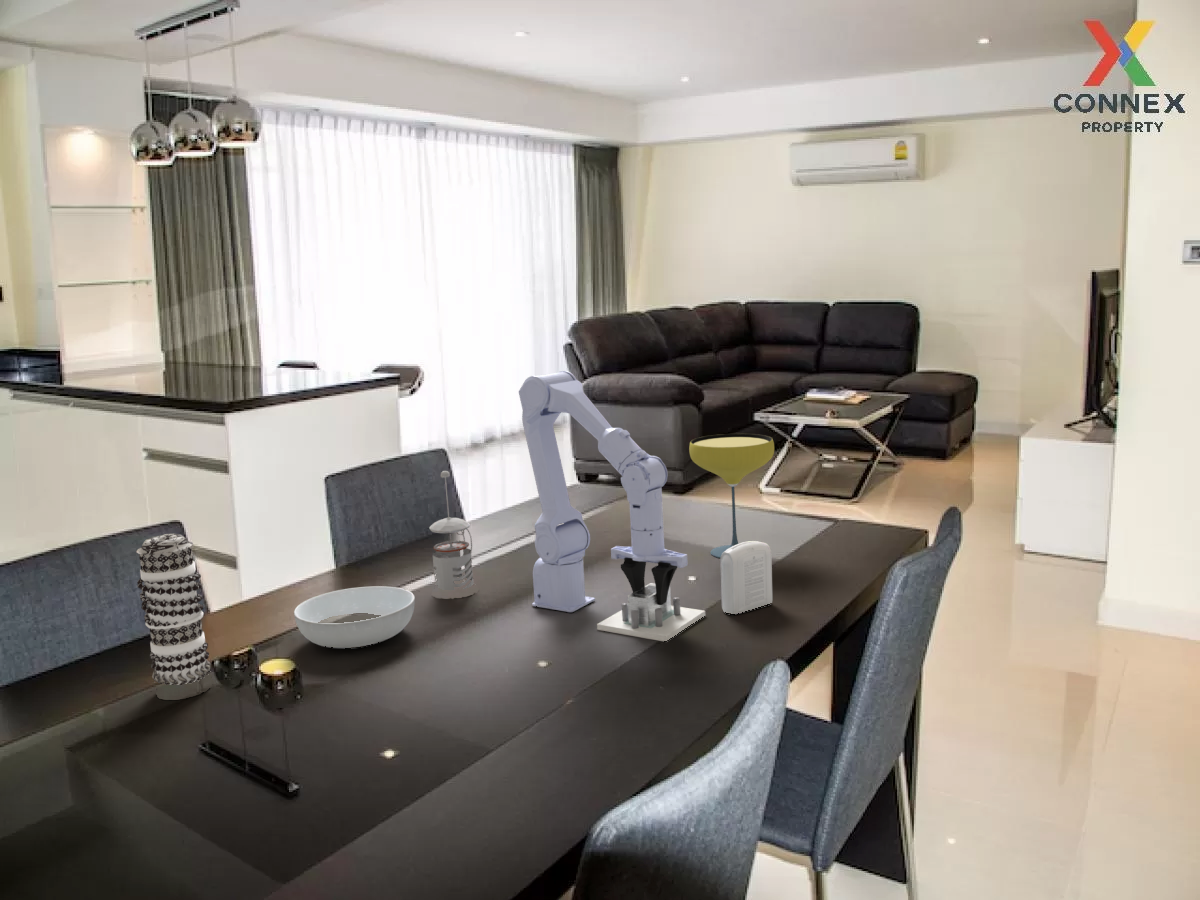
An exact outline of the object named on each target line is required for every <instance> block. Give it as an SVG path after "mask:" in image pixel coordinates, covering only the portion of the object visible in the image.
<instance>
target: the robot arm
mask: <svg viewBox="0 0 1200 900" xmlns="http://www.w3.org/2000/svg"><path fill="white" fill-rule="evenodd" d="M583 386H584V385H583V382H581V381H579V380H578V379H577V378H576V375H574V374H573V373H572V372H570V371H567V370H562V371H559V372H554V373H548V374H541V375H530V376H529V377H527V378H525V380H524V382H523V383H522V385H521V387H520V389H519V390H518V396H519V400H520V404H521V408H522V413H521V419H522V426H523V427H522V428H523V430H524V435H525V436H524V437H525V441H526V445H527V449H528V453H529V457H530V463H531V467H532V471H533V477H534V479H535V484H536V489H537V494H538V498H539V503H540V507H541V514H540V516H539V517H538V518H537V520H536V522H535V524H534V526H533V527H534V530H535V531H534V532H535V539H534V546H535V551H536V553H537V555H538V557H539V558H538V559H536V561H535V563H534V565H533V569H532V584H533V596H534V597H533V602H532V603H531V604H532V605H533V607H536V606H537V607H538V608H543V609H548V610H556V611H560V612H567V613H573V612H576V611H577V610H579V609H581V608H583V607H584V606H587V605H588V604H590V603H593V602H594V601H595V600H596V598H595V597H591V596H586V586H585V585H586V584H585V583H586V582H585V571H584V569H585V568H584V557H585V556H586V550H587V549H589V548H588V547H589V546H590V543H591V534H590V531H589V528H588V527H587V524H586V523H585V521H584V518H583V514H582V512H580V511H579V510H578V509H577V508H575V507H573V506H572V505H571V501H570V497H569V496H570V495H569V491H568V487H567V483H566V482H567V481H566V478H565V473H564V469H563V464H562V461H561V460H562V459H561V455H560V452H559V447H558V442H557V437H556V433H555V429H554V424H555V422H556V421H557V419H558V418H559V416H560V414H561V413H562V414H563V413H564V414H569V415H570V416H571V417H572V418H573V419H574V420H575V421H576V422H577V423H579V424H580V425H581V426H582V427H583V428H584V429H585V430H586V431H587V432H588V433H589V434H591V435H592V436H593V438H595V439H596V440H597V450H598V452H599V453H600V454H601V456H603V457H604V458H605V460H607V461H608V463H609V464H610V465H611V466H612V467H613V468H614V469H615V470H616V472H618V473H619V474H620V475H621V477H620V484H621V485H622V488H623V490H624V491H625V492H626V498H627V499H626V500H627V502H628V503H629V519H630V536H631V538H630V539H631V546H622V545H621V546H620V545H615V546H614V547H612V548H610V555H611V556H610V559H611V560H623V563H621V564H620V569H621V571H622V572H623V574H624V575H625V577H626V579H627V581H628V583H629V585H630V588H631V591H632V593H633V592H635V591H637V590H639V589H641V588H642V587H644V586H646V585H645V575H646V565H647V563H651V564H657V565H655V566H654V567H652V568H650V569H651V573H652V576H653V580H654V583H655V585H656V598H657V603H658V605H662V604H664V603H666V602H667V595H668V590H669V586H670V587H671V583H672V580H673V577H674V575H675V573H676V571H677V569H678V568H679V569H680V568H681V569H683V568H685V567H687V566H688V563H689V562H688V554H687V553H681V552H677V551H675V550H669V549H667V548H665V533H664V532H665V530H664V529H665V528H664V512H663V511H664V509H663V491H662V490H663V489H662V487H664V486H665V484H666V483H667V482H668V475H669V474H668V473H669V472H668V469H667V465H666V464H665V463H664V462H663V460H662V459H661V458H660V457H658V456H657V455H650V454H649V453H648V452H646V451H645V450H644V449H643V448H642V447H640V446H639V445H638V444H637V443H636V441H634V439H633V438H632V437H631V433H630V432H629V431H628V430H627V429H623V428H622V427H613V426H612V425H611V424H610V423H609V422H608V421H607V419H606V418H605V416H604V415H603V414H602V413H601V412H600V411H599V410H598V408H597V407H596V406H595V405H594V403H593V402H592V401H591V400H590V398H589V397H588V396H587V395H586V394H585V391H584V387H583ZM532 605H531V606H532Z"/></svg>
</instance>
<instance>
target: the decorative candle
mask: <svg viewBox="0 0 1200 900" xmlns="http://www.w3.org/2000/svg"><path fill="white" fill-rule="evenodd" d="M193 544H194V542H192V541H190V540H188V539H187V537H185V536H184V535H182V534H180V533H166V534H165V533H164V534H160V535H159V534H158V535H155V536H151V537H149V538H147V539H145V541H143V543H142V545H141V547H139V548H138V549H137V550H136V553H137V554H138V556H139V557H138V558H139V563H140V570H139V572H140V578H139V579H138V580H137V588H138V589H140V590H141V592H140V593H139V597H140V601H141V609H142V611H144V613H145V614H144V616H143V618H144V622H145V626H146V627H147V628H148V629H149V635H150V642H149V644H150V651H151V652H150V653H149V659H151V660H152V662H151V669H153V672H152V679H153V681H154V682H155V681H156V682H158V683H160V684H163V683H164V684H166V685H181V686H182V685H184V684H187V683H188V684H192V683H193V682H195V681H196V682H199V681H200V679H204V678H205V677H204V676H205V675H209V674H208V673H207V672H208V671H210V669H211V665H212V663H211V662H210V661H208V659H209V656H210V653H209V651H207V649H208V647H209V643H208V642H206V638H205V631H203V628H202V626H203V624H202V620H201V619H202V618H203V617H204V612H203V610H204V605H203V604H201V603H200V602H201V601H202V600H203V598H204V597H203V595H201V594H198V592H197V591H199V590H200V589H201V588H202V586H203V583H201V582H199V581H198V580H199V579H200V578H201V577H202V575H201V574H200V573H199V572H196V562H195V560H194V559H193V551H192V546H193Z"/></svg>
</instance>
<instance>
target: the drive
mask: <svg viewBox="0 0 1200 900" xmlns="http://www.w3.org/2000/svg"><path fill="white" fill-rule="evenodd" d="M627 603H628V616H629V623H630V624H631V610H638V625H642V626H648V627H649V626H650V625H652V624H653V623H655V609H656V608H661V609H662V618H663V617H665V616H666V615H668V614H670V613H671V606H672V597H671V585H670V586H669V590H668V595H667V602H666V603H664V604H662V605H658V603H657V598H656V585H655V582H650V583H647V585H645V586H644V587H642V588H641V589H639V590H637V591H635V592H633V591H632V593H630V594H628V595H627Z"/></svg>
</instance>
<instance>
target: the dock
mask: <svg viewBox="0 0 1200 900" xmlns="http://www.w3.org/2000/svg"><path fill="white" fill-rule="evenodd" d="M672 601H673V602H672V603H673V605H671V613H670V614H668V615H666V616H665V617H663V618H662V609H661V608H656V609H655V623H653V624H652V625H650V626H649V627H648V626H642V625H638V610H631V624H630V623H629V616H628V602H622V603H621V610H619V611H617V612H615V613H614V614H612V615H610V616H609V617H607V618H605V619H604V620H602V621H600V622H599V623H596V629H597V630H598V631H602V632H604V631H605V632H610V633H614V634H620V635H625V636H631V637H636V638H642V639H647V640H654V641H659V642H664V641H667V640H669V639H670V638H672V637H673V638H675V637H676V636H678V635H679V634H680V633H679V632H681V631H682V630H684V629H685V628H687V627H688V626H690V625H691V624H693V623H694V624H696V623H697V622H698V620H699V619H700V620H702V619H703V618H705V617H706V610H702V609H696V608H690V607H689V608H688V607H683V606H681V597H678V596H677V597H675V596H674V597H673V598H672ZM704 616H705V617H704ZM702 617H703V618H702ZM701 618H702V619H701ZM700 620H699V621H700ZM696 621H697V622H696ZM695 622H696V623H695ZM694 624H693V625H694ZM691 626H692V625H691ZM691 626H690V627H691ZM688 628H689V627H688ZM688 628H687V629H688ZM685 630H686V629H685ZM685 630H684V631H685ZM682 632H683V631H682ZM682 632H681V633H682ZM678 633H679V634H678ZM677 634H678V635H677ZM675 635H676V636H675ZM674 636H675V637H674ZM673 638H672V639H673ZM670 640H671V639H670ZM670 640H669V641H670ZM667 642H668V641H667Z"/></svg>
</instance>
